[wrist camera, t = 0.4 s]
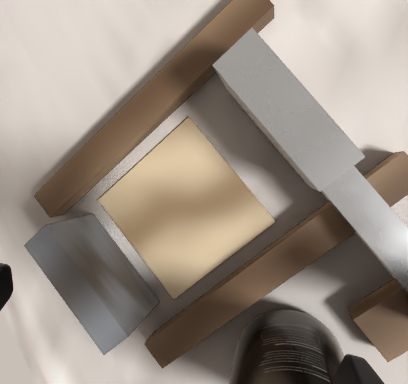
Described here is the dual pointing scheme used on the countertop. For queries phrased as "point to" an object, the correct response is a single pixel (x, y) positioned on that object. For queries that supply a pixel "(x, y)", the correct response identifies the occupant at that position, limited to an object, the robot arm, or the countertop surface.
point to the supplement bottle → (286, 351)
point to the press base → (190, 218)
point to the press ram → (313, 146)
